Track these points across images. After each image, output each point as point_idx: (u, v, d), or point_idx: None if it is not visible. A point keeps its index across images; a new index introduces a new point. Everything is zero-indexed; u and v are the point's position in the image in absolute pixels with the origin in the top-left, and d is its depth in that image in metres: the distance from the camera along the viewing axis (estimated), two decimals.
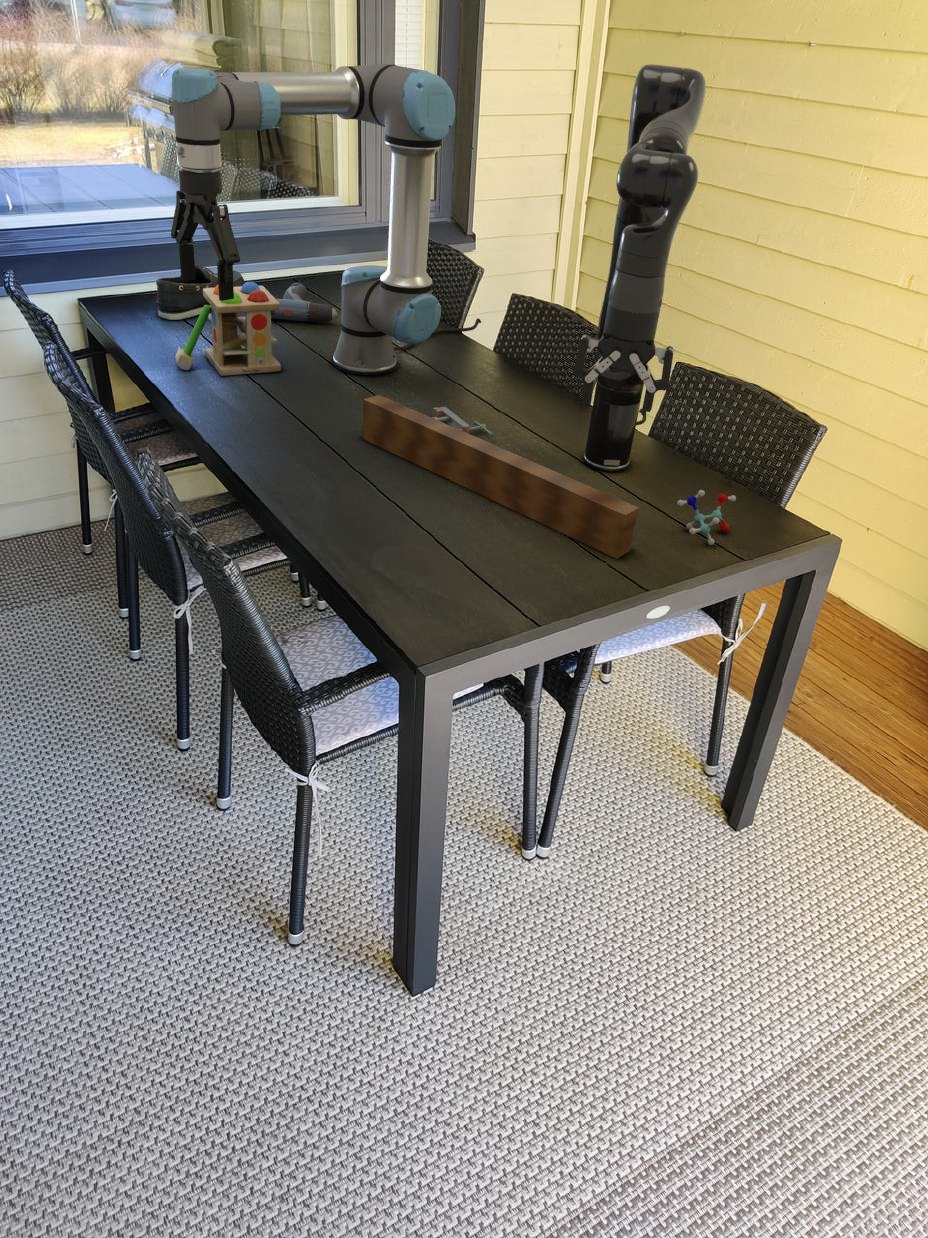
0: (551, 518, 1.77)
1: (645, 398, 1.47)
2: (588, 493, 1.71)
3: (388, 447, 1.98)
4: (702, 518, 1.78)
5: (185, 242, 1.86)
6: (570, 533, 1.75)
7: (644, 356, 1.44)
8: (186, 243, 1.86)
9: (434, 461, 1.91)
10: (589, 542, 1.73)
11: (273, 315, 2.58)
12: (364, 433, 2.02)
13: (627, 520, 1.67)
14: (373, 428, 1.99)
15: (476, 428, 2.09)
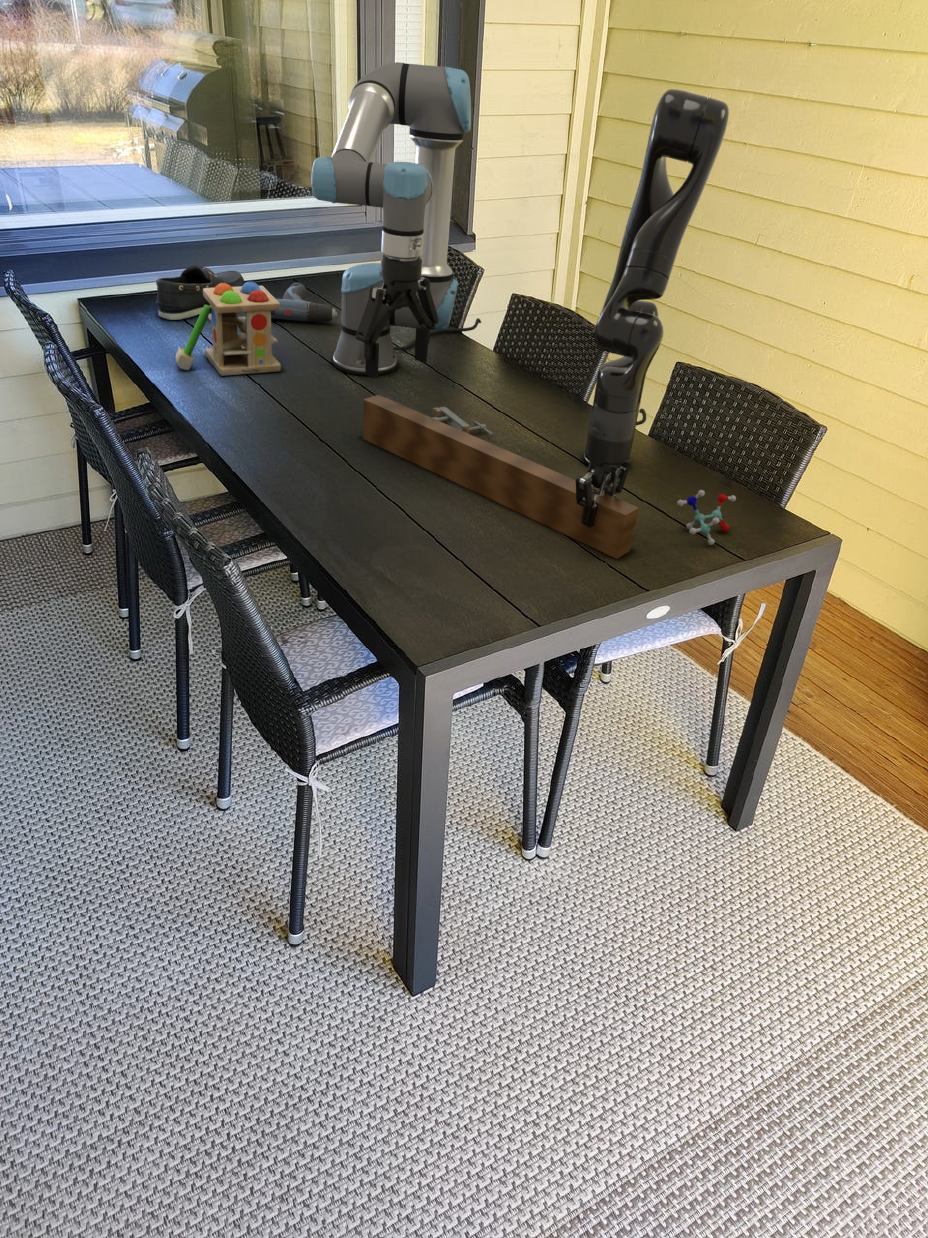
0: (551, 518, 1.77)
1: None
2: None
3: (388, 447, 1.98)
4: (702, 518, 1.78)
5: None
6: (570, 533, 1.75)
7: None
8: None
9: (434, 461, 1.91)
10: (589, 542, 1.73)
11: (273, 315, 2.58)
12: (364, 433, 2.02)
13: (627, 520, 1.67)
14: (373, 428, 1.99)
15: (476, 428, 2.09)
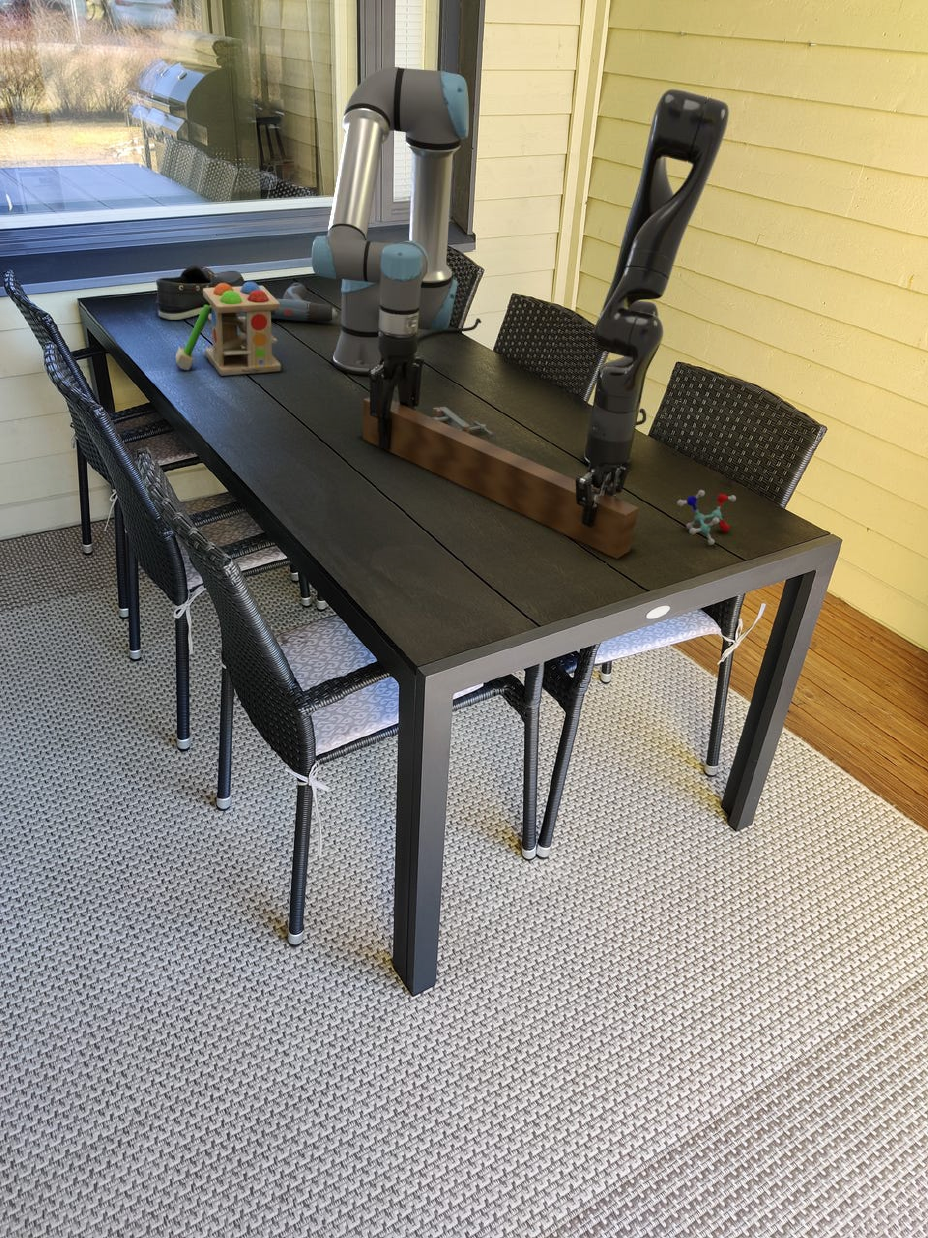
0: (551, 518, 1.77)
1: None
2: None
3: None
4: (702, 518, 1.78)
5: None
6: (570, 533, 1.75)
7: None
8: None
9: (434, 461, 1.91)
10: (589, 542, 1.73)
11: (273, 315, 2.58)
12: (364, 433, 2.02)
13: (627, 520, 1.67)
14: (373, 428, 1.99)
15: (476, 428, 2.09)
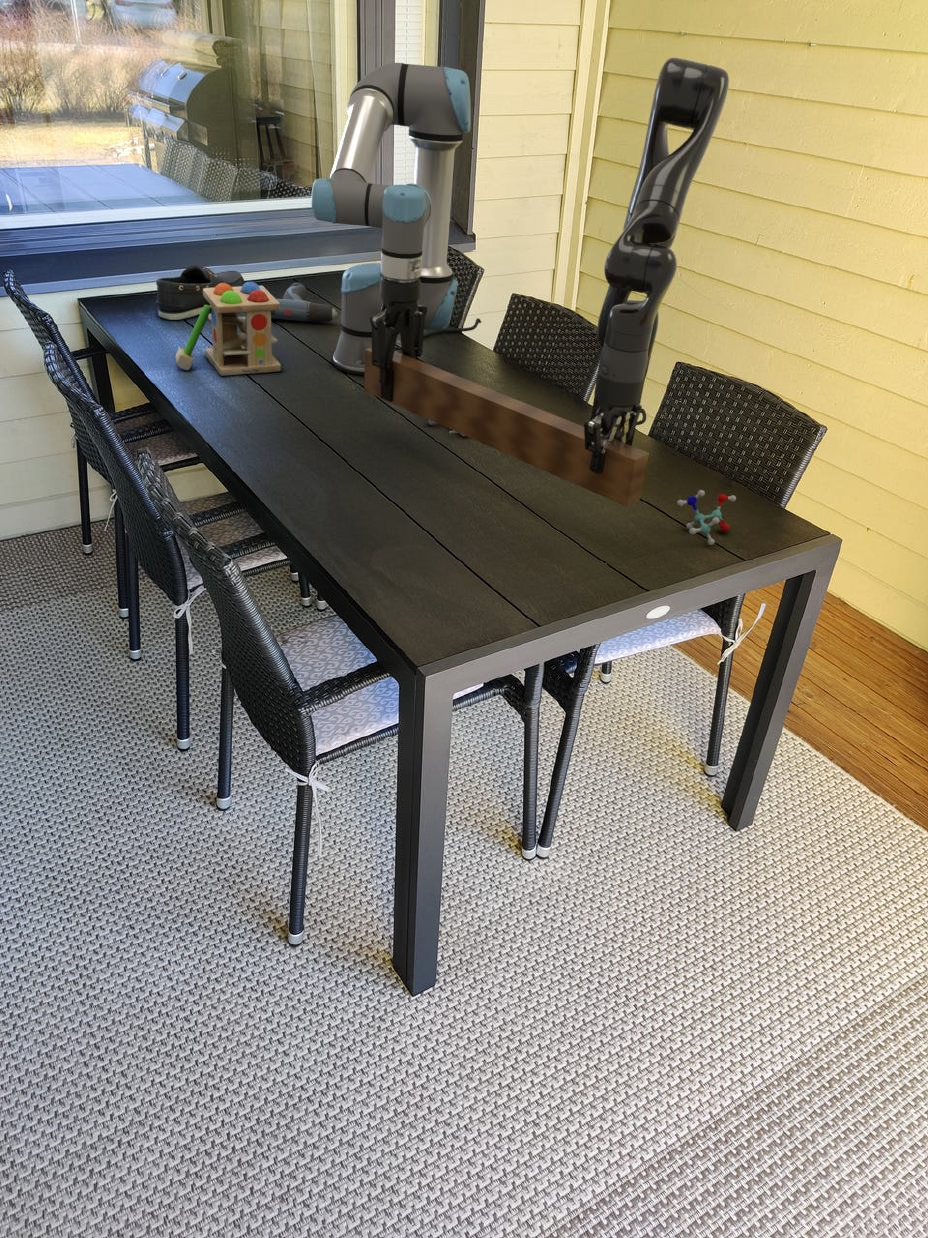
0: (559, 467, 1.71)
1: None
2: None
3: None
4: (702, 518, 1.78)
5: None
6: (579, 481, 1.70)
7: None
8: None
9: (438, 411, 1.86)
10: (598, 490, 1.68)
11: (273, 315, 2.58)
12: (366, 385, 1.96)
13: (637, 465, 1.61)
14: (375, 380, 1.94)
15: None
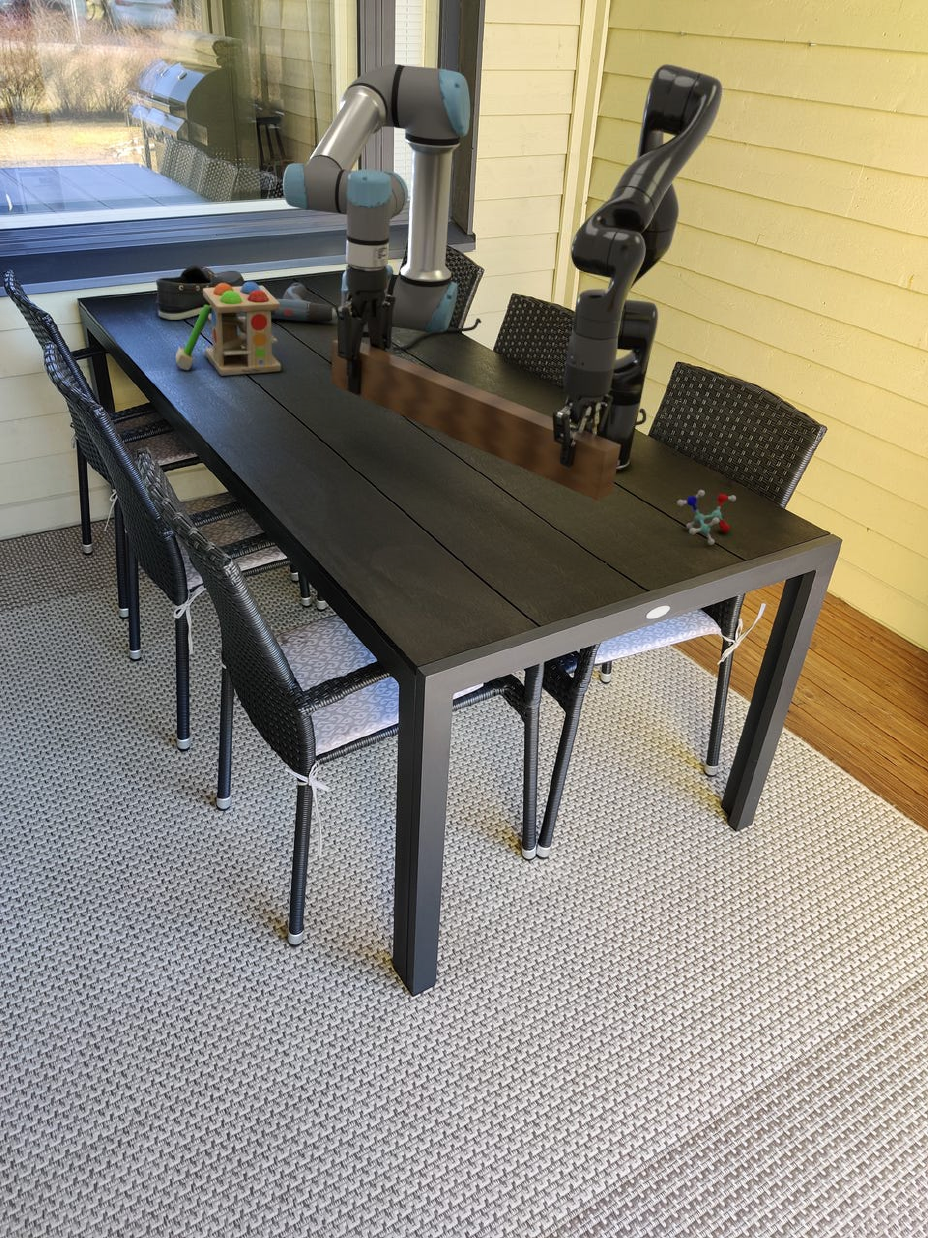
0: (529, 460, 1.66)
1: None
2: None
3: None
4: (702, 518, 1.78)
5: None
6: (549, 475, 1.64)
7: None
8: None
9: (406, 404, 1.80)
10: (568, 484, 1.62)
11: (273, 315, 2.58)
12: (333, 378, 1.91)
13: (608, 457, 1.56)
14: (342, 372, 1.88)
15: None
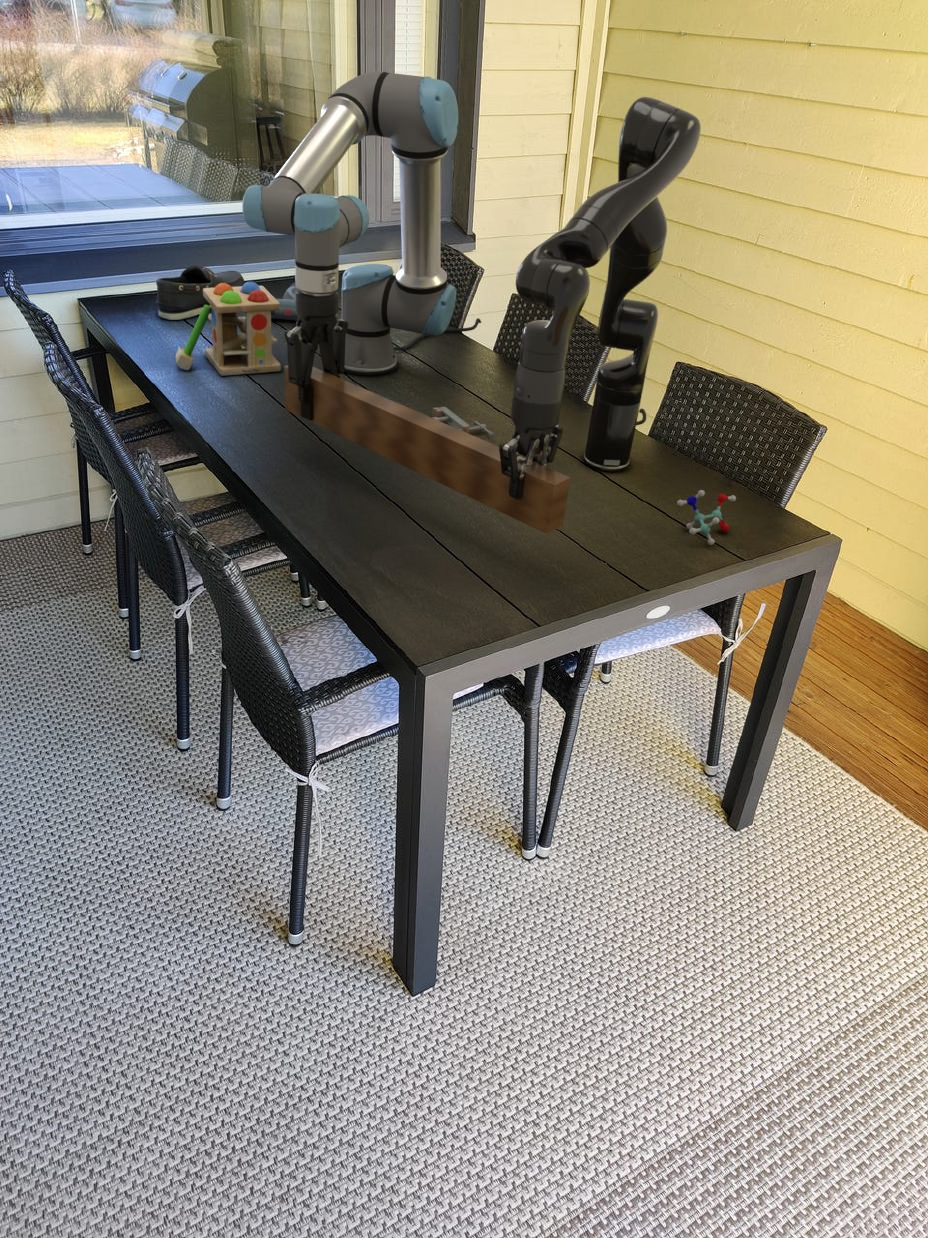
0: (479, 491, 1.62)
1: None
2: None
3: None
4: (702, 518, 1.78)
5: None
6: (499, 507, 1.61)
7: None
8: None
9: (357, 431, 1.77)
10: (518, 516, 1.59)
11: (273, 315, 2.58)
12: (286, 403, 1.87)
13: (557, 490, 1.53)
14: (295, 398, 1.85)
15: (476, 428, 2.09)
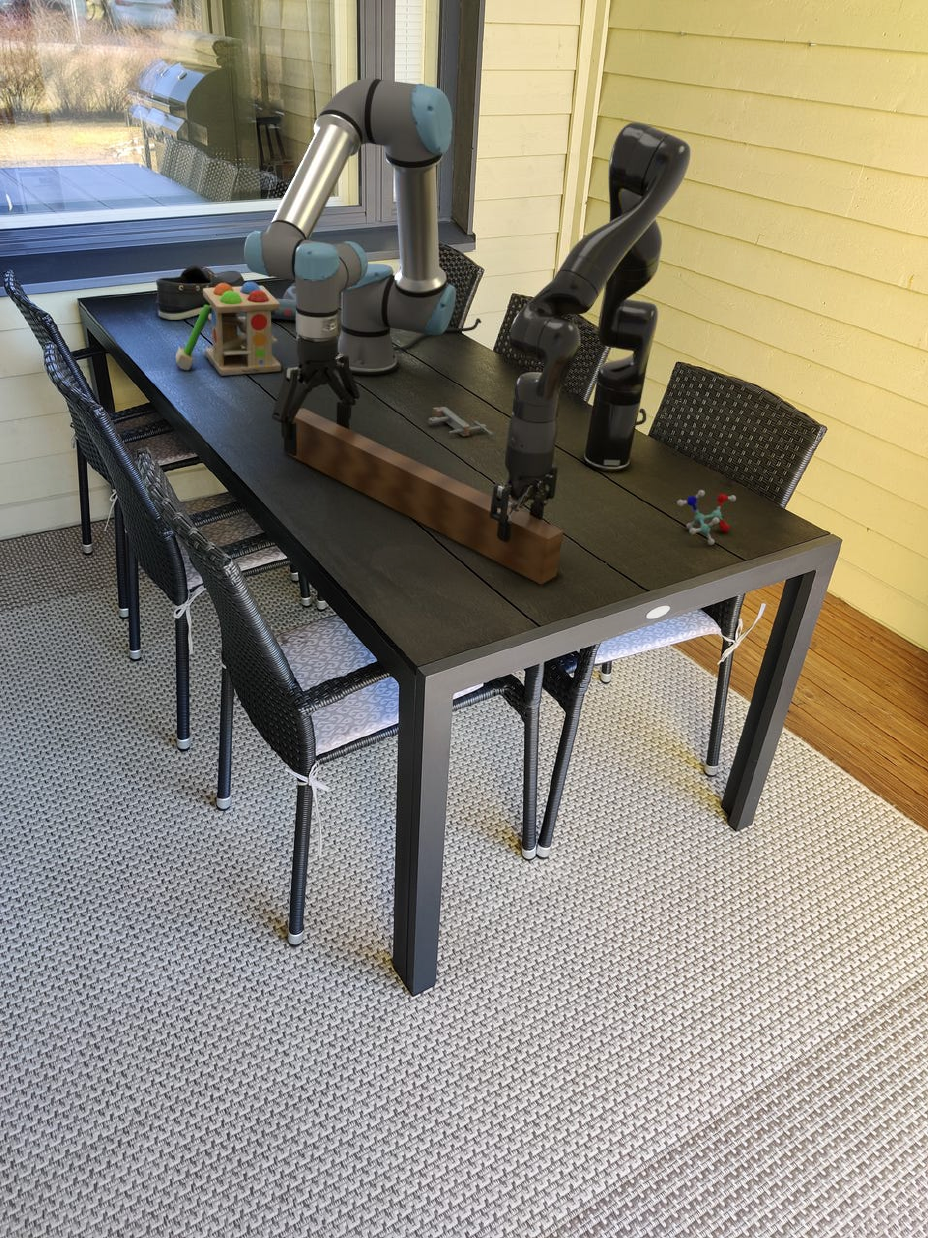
0: (475, 541, 1.68)
1: None
2: None
3: (313, 464, 1.89)
4: (702, 518, 1.78)
5: None
6: (494, 557, 1.66)
7: None
8: None
9: (358, 479, 1.82)
10: (513, 566, 1.64)
11: (273, 315, 2.58)
12: None
13: (550, 544, 1.58)
14: (297, 444, 1.90)
15: (476, 428, 2.09)
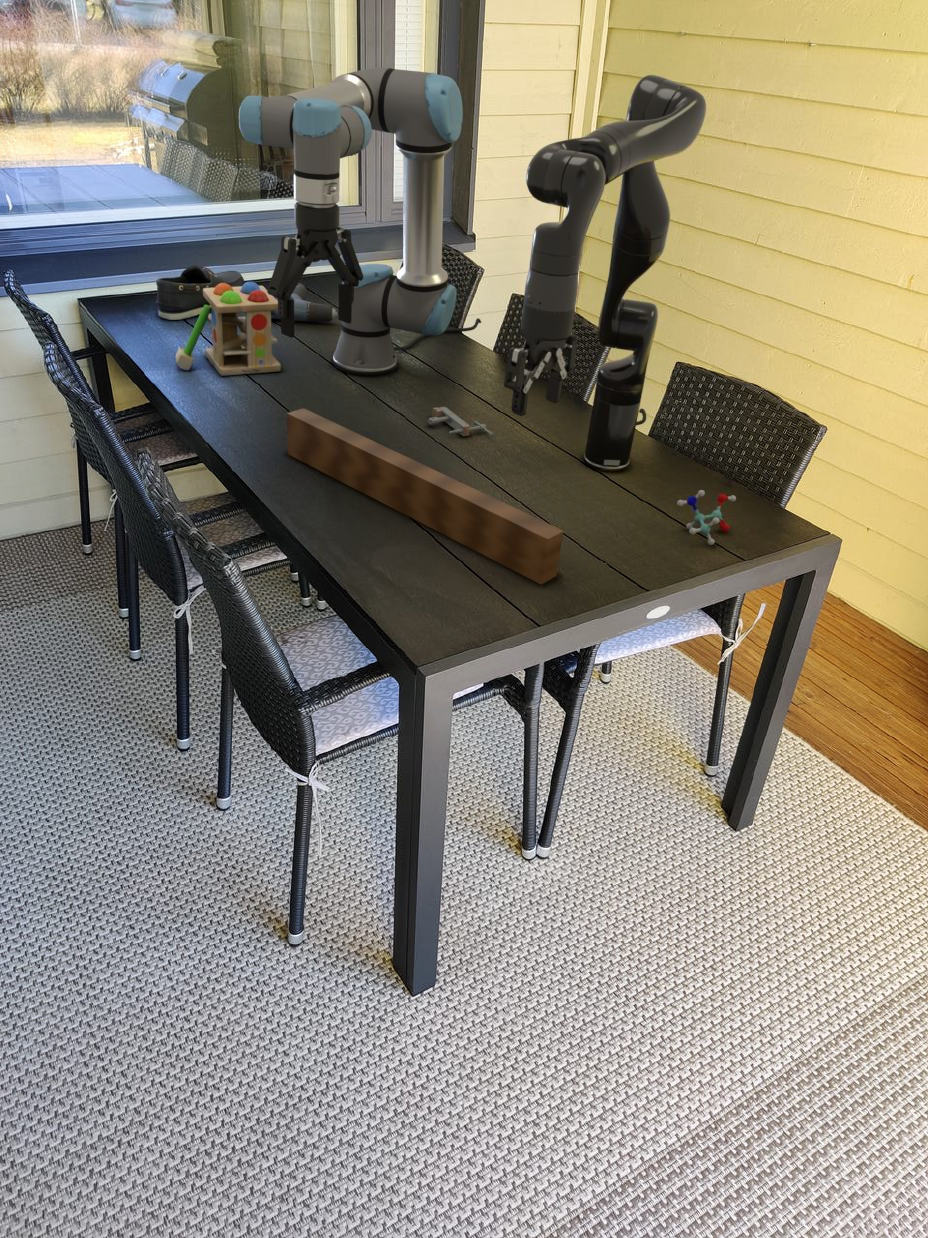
0: (475, 541, 1.68)
1: None
2: (511, 515, 1.62)
3: (313, 464, 1.89)
4: (702, 518, 1.78)
5: None
6: (494, 557, 1.66)
7: None
8: None
9: (358, 479, 1.82)
10: (513, 566, 1.64)
11: (273, 315, 2.58)
12: (289, 448, 1.93)
13: (550, 544, 1.58)
14: (297, 444, 1.90)
15: (476, 428, 2.09)
